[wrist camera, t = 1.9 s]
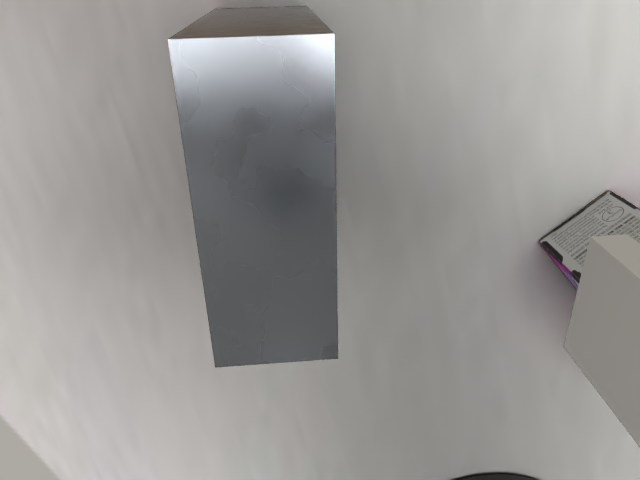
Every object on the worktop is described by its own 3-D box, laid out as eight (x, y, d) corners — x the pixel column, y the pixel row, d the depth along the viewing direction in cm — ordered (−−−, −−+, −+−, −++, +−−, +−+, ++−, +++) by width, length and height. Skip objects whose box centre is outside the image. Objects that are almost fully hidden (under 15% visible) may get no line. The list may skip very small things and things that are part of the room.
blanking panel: (313, 211, 28) (337, 358, 17) (237, 215, 28) (215, 367, 17) (306, 5, 24) (334, 33, 13) (215, 8, 23) (167, 39, 13)
